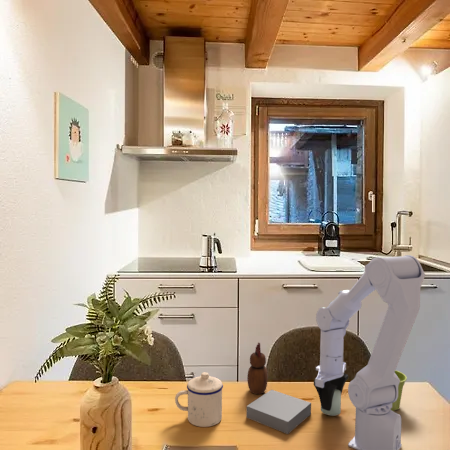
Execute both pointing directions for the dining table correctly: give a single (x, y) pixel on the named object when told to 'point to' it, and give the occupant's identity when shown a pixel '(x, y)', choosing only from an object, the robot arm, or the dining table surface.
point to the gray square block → (279, 411)
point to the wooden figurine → (257, 372)
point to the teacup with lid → (203, 400)
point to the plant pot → (399, 390)
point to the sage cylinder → (334, 404)
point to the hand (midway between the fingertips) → (330, 405)
